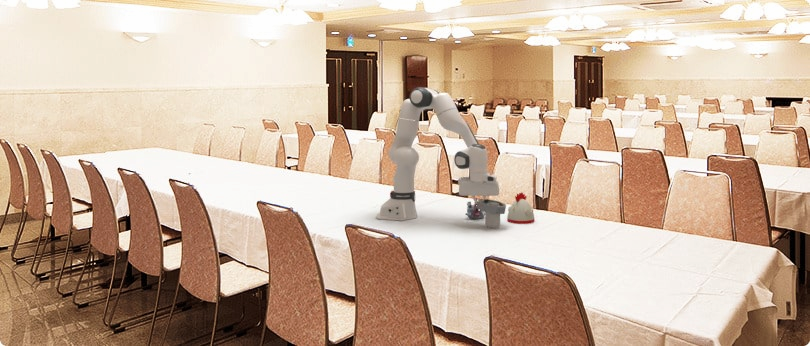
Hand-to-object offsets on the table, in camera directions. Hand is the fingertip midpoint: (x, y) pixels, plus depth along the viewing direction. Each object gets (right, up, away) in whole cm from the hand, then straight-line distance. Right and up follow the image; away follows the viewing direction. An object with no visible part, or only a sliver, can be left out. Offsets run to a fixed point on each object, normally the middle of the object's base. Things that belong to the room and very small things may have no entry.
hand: (479, 204), depth 328 cm
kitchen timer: (+23, -10, +12) cm, 28 cm away
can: (+7, -12, 0) cm, 13 cm away
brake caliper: (0, -9, +21) cm, 23 cm away
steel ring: (+6, -3, 0) cm, 6 cm away
